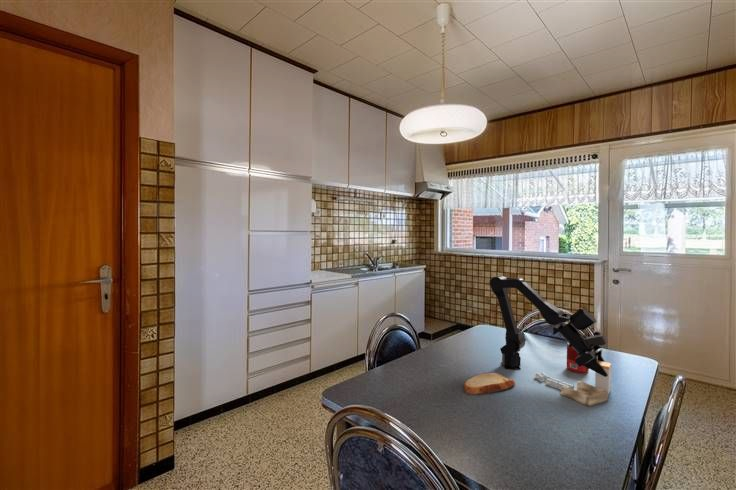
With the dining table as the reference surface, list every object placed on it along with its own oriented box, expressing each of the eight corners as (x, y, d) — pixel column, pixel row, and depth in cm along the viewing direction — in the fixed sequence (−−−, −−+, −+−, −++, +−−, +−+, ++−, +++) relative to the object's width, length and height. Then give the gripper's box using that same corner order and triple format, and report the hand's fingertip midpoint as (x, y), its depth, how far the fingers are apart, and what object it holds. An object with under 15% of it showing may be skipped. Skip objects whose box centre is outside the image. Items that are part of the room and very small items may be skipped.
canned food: (591, 374, 141) (592, 347, 140) (570, 372, 142) (571, 346, 142) (584, 367, 148) (584, 342, 148) (563, 366, 150) (564, 340, 150)
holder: (559, 393, 123) (559, 385, 123) (577, 388, 128) (577, 380, 128) (589, 406, 114) (589, 397, 114) (607, 400, 119) (607, 391, 119)
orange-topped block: (595, 391, 125) (595, 364, 125) (597, 386, 129) (598, 360, 129) (608, 394, 123) (609, 367, 122) (610, 390, 126) (611, 363, 126)
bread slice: (462, 393, 124) (462, 383, 124) (466, 374, 141) (467, 365, 141) (516, 402, 118) (516, 391, 118) (514, 381, 134) (514, 372, 134)
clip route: (563, 394, 123) (563, 388, 123) (530, 378, 137) (530, 373, 137) (575, 391, 125) (576, 385, 125) (542, 375, 139) (542, 371, 139)
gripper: (586, 330, 121) (624, 369, 114) (596, 320, 135) (631, 355, 128) (560, 347, 127) (595, 386, 120) (573, 336, 140) (605, 370, 133)
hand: (607, 373), depth 125 cm, fingers closed on orange-topped block, 5 cm apart
